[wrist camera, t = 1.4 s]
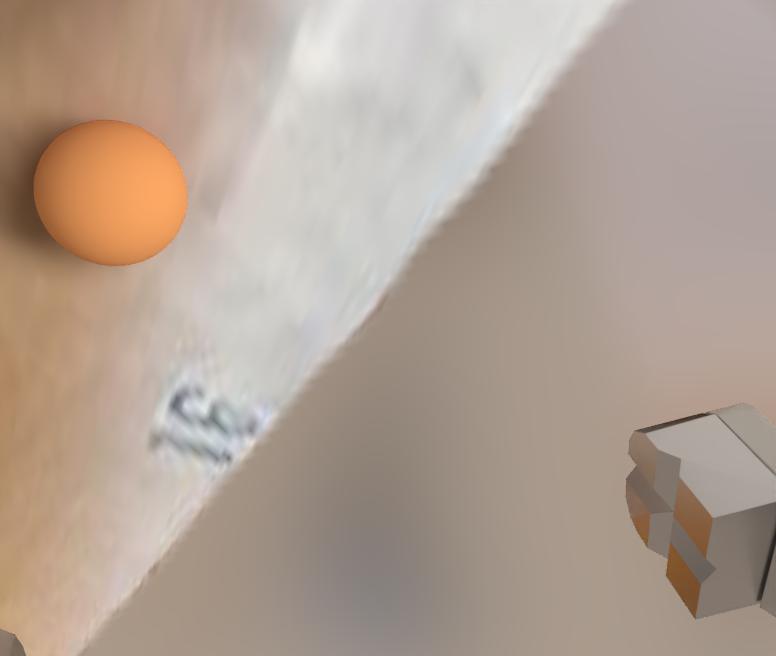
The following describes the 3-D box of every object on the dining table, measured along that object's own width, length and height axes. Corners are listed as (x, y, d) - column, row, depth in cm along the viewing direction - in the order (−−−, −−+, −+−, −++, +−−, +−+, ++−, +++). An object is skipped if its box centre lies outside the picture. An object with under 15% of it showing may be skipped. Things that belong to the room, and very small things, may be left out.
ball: (25, 116, 28) (-10, 167, 24) (166, 89, 29) (159, 134, 24) (78, 240, 31) (56, 306, 27) (204, 214, 32) (204, 274, 27)
